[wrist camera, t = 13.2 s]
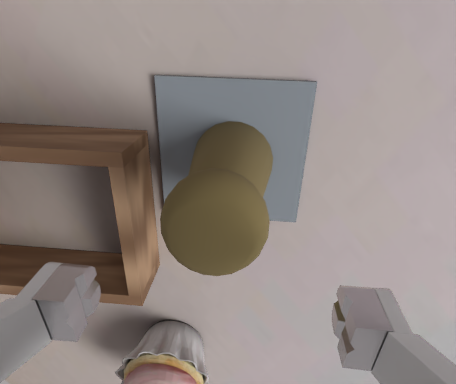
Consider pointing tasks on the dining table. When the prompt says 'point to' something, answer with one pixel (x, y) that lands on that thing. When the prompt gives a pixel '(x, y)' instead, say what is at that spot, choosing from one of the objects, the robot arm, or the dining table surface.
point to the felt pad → (238, 112)
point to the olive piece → (220, 202)
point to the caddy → (122, 196)
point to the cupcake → (166, 357)
